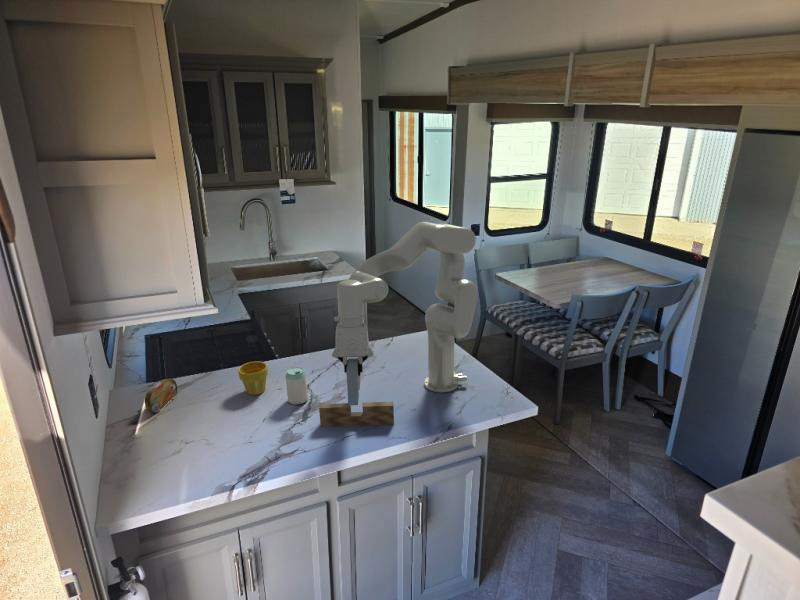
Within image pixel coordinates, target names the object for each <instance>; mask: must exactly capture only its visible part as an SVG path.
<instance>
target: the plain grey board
mask: <svg viewBox="0 0 800 600" xmlns="http://www.w3.org/2000/svg"><path fill="white" fill-rule="evenodd" d="M347 360H348V363H347V370H346V372H347V374H346V385H347V386H346V388H347V403H348V405H351V406H358V405H359V400H360V399H359V398H360V387H361V375H360V376H358V360H359V359H358V357H347Z"/></svg>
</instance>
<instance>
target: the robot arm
mask: <svg viewBox="0 0 800 600" xmlns="http://www.w3.org/2000/svg"><path fill="white" fill-rule="evenodd" d="M476 241H477V239H476V235H475V232H474V231H473V230H472V229H470V228H467V227H464V226H458V225H453V224H448V223H434V222H429V221H428V222H427V221H420V222H417V223H416V224H414V225H413V226H412V227H411V228H410V229H409V230H408V231H407V232H406V233H405V234H403V236H402V237H401V238H400V239H399V240H398V241H397V242H396V243H395V244H394V245H393V246H392V247H391V248H389V249H387V250H386V249H385V250H384V251H381V252H379V253H376V254H375V255H372V256H371V257H369V258H367V259H365V260H364V261H363V262H362V263H361V264H360V265H359V266H358V267H356V269H355V270H353V272H352V273H351V274H350V276H349V279H344V280H341V281H340V282H338V283H337V286H336V288H337V289H336V290H337V291H336V293H337V310H338V311H337V312H338V315H337V316H334V317H333V321H334V322H337V324H336V327H335V328H336V329H335V346H334V348H333V351H332V352H331V357H332V358H334V359H338V360H339V361H340V362H341V363H342V365H343V370H344V371H343V372H344V373H345V374H346V375H347V372H346V370H347V363H348V357H358V359H359V360H358V376H360V377H361V373H364V371H363V367H364V365H363V364H364V363H365V362H366V360H368V359H369V358H371V357H373V356H374V354H375V353H374V351H373V349H372V348H371V346H370V344H369V343H370V342H369V333H368V327H367V324H366V322H365V321H364V304H368V303H378V302H381V301H383V300H384V299H386V297H387V296H388V293H389V286H388V285H389V284H387V282H386V281H385V280H384V279H382V278H380V276H381V275H384V274H385V273H389V272H395V271H403V270H407V269H408V268H410V267H412V266H413V264H414V263H416V262H417V260H418V259H419V258H420V257H422V255H423V254H424V253H425V252H427V251H428V250H430V251H434V252H437V253H439V257H440V263H439V270H438V273H437V279H436V281H435V282H436V284H435V288H434V289H435V291H434V292H435V293H434V294H435V297H436V298H438V299H439V300H441V301H444V302H445V303H449V304H452V305H453V306H450V305H447V304H445V303H439V302H438V303H434V304H431V305H430V306H429V307H428V308H427V309H426V310H425V315H424V320H425V326H426V330H427V343H428V345H427V349H428V350H427V351H428V353H427V355H428V356H427V357H428V360H427V363H428V365H427V366H428V367H427V369H428V376H427V377H426V378H425V379H424V381H423V383H424V387H425V388H426V389H427V390H428V391H431V392H434V393H440V394H441V393H449V392H453V391H454V390H456V389H457V388H458V386H459V382H467V381H468V378H467V377H468V376H467V375H463V373H456V372H455V346H456V345H455V339H462V338H465V337H467V335H468V334H469V333H470V330H471V328H472V324H473V321H474V316H475V311H476V307H477V302H478V298H479V293H478V291H479V290H478V288H477V285H476V284H475V283H474V282H473V281H471V280H470V279H465V278H463V277H464V270H465V265H466V263H465V255H464V254H467V253H470V252H471V251H472V250H473V249H474V247H475V245H476V243H477V242H476Z"/></svg>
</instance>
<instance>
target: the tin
mask: <svg viewBox="0 0 800 600" xmlns="http://www.w3.org/2000/svg"><path fill="white" fill-rule="evenodd" d="M177 395H178V384H177V381H176V380H175V379H173V378H163V379H162V380H160V381H159V382H157V384H155V385H154V386H153V387H151V389H149V390H148V391H147V392H146V394H145V396H144V405H145V408H146V410H147V411H148V412H150V413H160V412H161V411H162V410H161V409H162V408H163V407H164V406H165V405H166V404H167V403H168V401H170V400H171V399H172V398H173V397H175V396H177ZM175 398H176V397H175ZM160 410H161V411H160ZM159 411H160V412H159Z"/></svg>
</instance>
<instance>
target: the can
mask: <svg viewBox="0 0 800 600" xmlns="http://www.w3.org/2000/svg"><path fill="white" fill-rule="evenodd" d="M307 382H308V381H307V374H306V371H304V368H303V367H302V366H301V367H300V366H293V367H290V368H289V369H287V370H286V374H285V383H286V386H285V387H286V393H287V401H288V403H290V404H292V405H302V404H305V403H306V402H307V401H308V400H309V395H308V394H309V393H308V384H307Z"/></svg>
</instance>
